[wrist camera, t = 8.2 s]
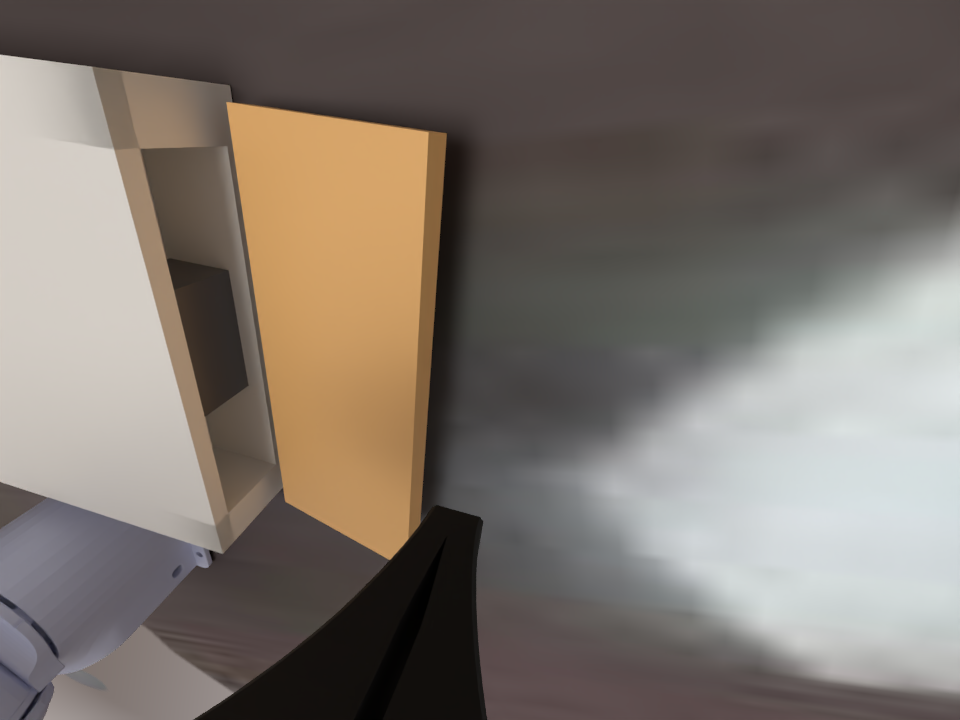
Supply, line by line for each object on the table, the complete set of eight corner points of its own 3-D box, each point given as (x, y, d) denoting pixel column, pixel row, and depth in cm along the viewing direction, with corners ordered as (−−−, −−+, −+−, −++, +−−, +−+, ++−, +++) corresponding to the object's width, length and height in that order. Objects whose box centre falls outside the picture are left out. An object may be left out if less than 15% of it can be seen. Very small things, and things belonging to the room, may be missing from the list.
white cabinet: (286, 483, 25) (222, 554, 21) (91, 427, 28) (-3, 480, 23) (230, 85, 16) (91, 66, 11) (-64, 46, 18) (-274, 19, 14)
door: (299, 490, 25) (418, 553, 22) (285, 501, 24) (406, 569, 21) (251, 104, 15) (446, 133, 13) (226, 101, 15) (428, 132, 12)
